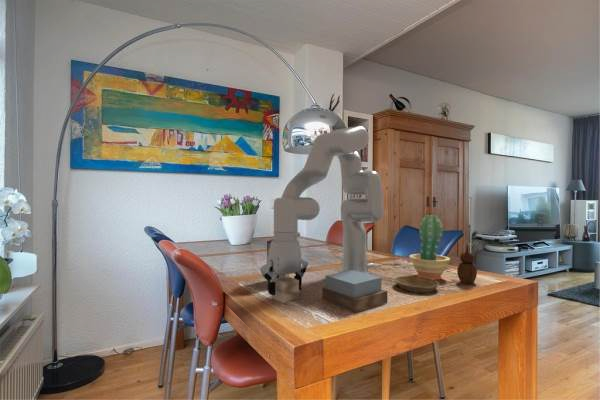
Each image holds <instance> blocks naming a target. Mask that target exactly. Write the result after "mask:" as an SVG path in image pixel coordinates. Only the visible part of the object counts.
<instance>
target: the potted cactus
mask: <svg viewBox="0 0 600 400" xmlns="http://www.w3.org/2000/svg"><path fill="white" fill-rule="evenodd" d="M418 226H419V231H418V232H419V238H420V241H421V242H420V251H419V253H413V254H410V255H409V260H410V261H411V262H412V265H413V268H414V270H415V271H416V273H417V275H418V276H417V277H423V278H428V279H432V280H435V281H437V280H436V279H438V280H441V279H442V275H443V274H444V272H445V271H446V269H447V266H448V264H450V263H451V258H450V257H449V256H445V255H440V254H437V253H438V249H439V245H440V242H441V239H442V237H443V228H444V226H443V223H442V221H441V219H440V218H439V217H438V216H437V215H433V214H430V215H429V214H425V215H424V217H423V218H422V220H421V221H420V223H419V225H418Z"/></svg>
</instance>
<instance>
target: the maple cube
mask: <svg viewBox="0 0 600 400" xmlns="http://www.w3.org/2000/svg"><path fill="white" fill-rule="evenodd" d="M274 282H275V283H276V285H275V295H271V296H272V297H271V298H272V299H274V300H276V301H278V302H280V303H282V304H284V303H288V302H293V301H296V300H299V299H300V298H299V297H300V295H299V293H300V290H299V280H297V279H294V277H291V276H290V275H289V276H287V277H281V278H276V279H275V280H274Z"/></svg>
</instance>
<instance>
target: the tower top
mask: <svg viewBox="0 0 600 400" xmlns="http://www.w3.org/2000/svg"><path fill="white" fill-rule="evenodd" d="M325 287H326V289H329V290H332V291H335V292H338V293H341V294H343V295H346V296H349V297H352V298H357V297H361V296H364V295H367V294H371V293H374V292H378V291H381V289H382V277H381V276H378V275H374V274H371V273H370V274H366V273H362V272H358V271H354V270H350V271H345V272H340V273H339V272H336V273H331V274H330V273H329V274H326V275H325Z"/></svg>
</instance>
